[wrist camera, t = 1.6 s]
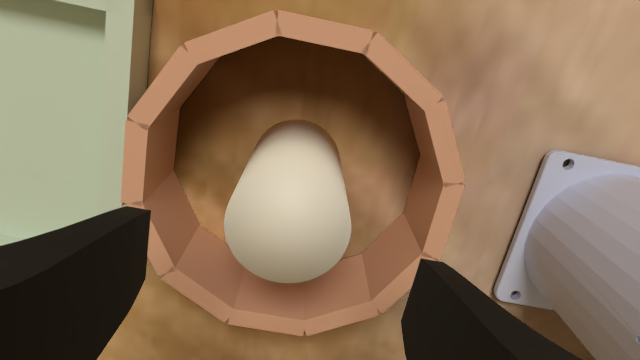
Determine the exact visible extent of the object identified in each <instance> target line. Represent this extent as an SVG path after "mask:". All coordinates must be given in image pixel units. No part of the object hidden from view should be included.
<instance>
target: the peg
mask: <svg viewBox="0 0 640 360" xmlns="http://www.w3.org/2000/svg"><path fill="white" fill-rule="evenodd" d="M224 232H225V237H226V241H227V243H228V246H229V248H230V250H231V252H232V254H233V255H234V256H235V258H236V259H237V260H238V261H239V262H240V263H241V265H242V266H244V267H245V268H246V269H247V270H249V271H250V272H252V273H253V274H255V275H257V276H259V277H261V278H263V279H266V280H269V281H273V282H278V283H299V282H304V281H309V280H311V279H314V278H317V277H319V276H321V275H323V274H324V273H326V272H327V271H329V270H330V269H331V268H332V267H333V266H334V265H335V264H336V263H337V262H338V261H339V260H340V259H341V257H342V256H343V254H344V252H345V250H346V248H347V246H348V243H349V240H350V235H351V218H350V212H349V206H348V201H347V195H346V189H345V184H344V178H343V172H342V167H341V161H340V156H339V151H338V148H337V146H336V143H335V142H334V140H333V138H332V137H331V136H330V134H329V133H328V132H326V131H325V130H324V129H323V128H322V127H320V126H318V125H316V124H314V123H312V122H309V121H305V120H287V121H283V122H280V123H278V124H276V125H274V126H272V127H271V128H269V129H268V130H267V131H266V132H265V133H264V134H263V135H262V136H261V138H260V139H259V141H258V143H257V145H256V147H255V149H254V151H253V153H252V155H251V157H250V159H249V161H248V163H247V165H246V168H245V170H244V172H243V174H242V176H241V178H240V180H239V182H238V184H237V186H236V188H235V190H234V193H233V195H232V197H231V199H230V201H229V203H228V206H227V208H226V212H225V217H224Z"/></svg>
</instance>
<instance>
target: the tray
mask: <svg viewBox="0 0 640 360" xmlns="http://www.w3.org/2000/svg"><path fill="white" fill-rule="evenodd" d="M152 9H153V0H0V246H2V245H5V244H9V243H13V242H17V241H21V240H24V239H28V238H31V237H34V236H37V235H40V234H44V233H47V232H50V231H53V230H56V229H60V228H63V227H66V226H69V225H71V224H74V223H77V222H80V221H83V220H86V219H88V218H91V217H94V216H97V215H100V214H102V213H105V212H108V211H111V210H114V209H117V208H121V207H122V206H123V205H124V204H125V203H121V189H122V172H123V156H124V139H125V123H126V120H127V119H129V117H128V114H129V113H130V112H131V110H132V109H133V108H134V106H135V105H136V104H137V102H138V101H139V100H140V98H141V97H142V96H143V94H144V93H145V92H146V90H147V77H148V63H149V50H150V36H151V23H152Z"/></svg>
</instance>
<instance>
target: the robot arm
mask: <svg viewBox="0 0 640 360" xmlns="http://www.w3.org/2000/svg"><path fill="white" fill-rule="evenodd" d="M567 159H570V162H569V164H568V166H566V167H563V162H564V161H565V160H567ZM150 217H151V210H146V209H141V208H135V207H129V206H126V207H121V208H117V209H114V210H111V211H108V212H105V213H102V214H100V215H97V216H94V217H91V218H88V219H86V220H83V221H80V222H77V223H74V224H71V225H69V226H66V227H63V228H60V229H56V230H53V231H50V232H47V233H44V234H40V235H37V236H34V237H31V238H28V239H24V240H21V241H17V242H13V243H9V244H5V245H2V246H0V360H97V358H98V357H99V355H100V354H101V352H102V351H103V349H104V348H105V346H106V345H107V343H108V342H109V341H110V339H111V338H112V336H113V335H114V333H115V332H116V330H117V329H118V327H119V326H120V324H121V323H122V321H123V320H124V318H125V317H126V315H127V314H128V312H129V311H130V309H131V307H132V305H133V303H134V301H135V299H136V297H137V295H138V293H139V291H140V289H141V287H142V284H143V282H144V280H145V276H146V264H147V252H148V240H149V229H150ZM513 291H517V293H516V294H514V295H510V294H511V293H512V292H513ZM494 294H495V296H496V298H497V299H498V300H500V301H503V302H509V303H514V304H520V305H526V306H532V307H538V308H543V309H549V310H555V311H556V312H557V314H558V315H559V316H560V317H561V319H562V320H563V321H564V322H565V323H566V325H567V326H568V327H569V328H570V329H571V331H572V332H573V333H574V334H575V335H576V337H577V338H578V339H579V340H580V342H581V343H582V344H583V345H584V346H585V348H586V349H587V350H588V351H589V352H590V354H591V355H592V356H593V357H594V358H595V360H640V166H636V165H631V164H627V163H622V162H617V161H612V160H607V159H602V158H597V157H592V156H587V155H582V154H577V153H572V152H567V151H562V150H552V151H549V152H548V153H547V154H546V155H545V157H544V159H543V161H542V164H541V167H540V169H539V172H538V175H537V177H536V180H535V182H534V185H533V188H532V190H531V193H530V195H529V198H528V201H527V203H526V206H525V208H524V211H523V214H522V216H521V219H520V221H519V224H518V227H517V229H516V232H515V235H514V237H513V240H512V242H511V245H510V248H509V250H508V253H507V255H506V258H505V261H504V263H503V266H502V268H501V271H500V274H499V276H498V279H497V281H496V284H495V287H494ZM401 325H402V334H403V342H404V349H405V355H406V359H407V360H582V359H580V358H578V357H576V356H575V355H573V354H571V353H569V352H568V351H566V350H564V349H563V348H561V347H559V346H558V345H556V344H555V343H553V342H551V341H550V340H548V339H547V338H545V337H543V336H542V335H540V334H539V333H537V332H536V331H534V330H533V329H531V328H530V327H528V326H527V325H526V324H524V323H523V322H521V321H520V320H519V319H517V318H516V317H514V316H513V315H512V314H510V313H509V312H508V311H506V310H505V309H504V308H502V307H501V306H500V305H498V304H497V303H496V302H495V301H493V300H492V299H491V298H489V297H488V296H487V295H486V294H484V293H483V292H482V291H481V290H479V289H478V288H477V287H476V286H474V285H473V284H472V283H471V282H469V281H468V280H467V279H466V278H464V277H463V276H462V275H461V274H459V273H458V272H457V271H455V270H454V269H453V268H451V267H450V266H448V265H447V264H445V263H443V262H439V261H433V260H428V259H422V258H421V259H420V262H419V265H418V269H417V272H416V275H415V278H414V281H413V285H412V288H411V291H410V294H409V297H408V301H407V304H406V307H405V310H404V313H403V317H402V320H401Z"/></svg>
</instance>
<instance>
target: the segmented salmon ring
mask: <svg viewBox="0 0 640 360" xmlns="http://www.w3.org/2000/svg"><path fill="white" fill-rule="evenodd" d="M276 36H282V37H287V38H292V39H296V40H301V41H306V42H311V43H315V44H320V45H325V46H329V47H334V48H339V49H344V50H348V51H353V52H358V53H361V54H362V55H363V56H364V57H365V58H366V59H367V60H368V61H370V62H371V63H372V64H373V65H374V66H375V67H376V68H377V69H378V70H379V71H380V72H381V73H382V74H383V75H384V76H385V77H386V78H388V79H389V80H390V81H391V82H392V83H393V84H394V85H395V86H396V87H397V88H398V89H399V90H400V91H401V92H402V93H403V94H404V97H405V100H406V104H407V108H408V111H409V115H410V119H411V123H412V126H413V130H414V134H415V137H416V141H417V145H418V148H419V152H420V158H419V161H418V165H417V168H416V171H415V175H414V178H413V182H412V185H411V189H410V192H409V196H408V199H407V203H406V206H405V210H404V213H403V214H402V215H401V216H400V217H399V218H398V219H397V220H396V221H395V222H394V223H393V224H392V225H391V226H390V227H389V228H388V229H386V230H385V231H384V232H383V233H382V234H381V235H380V236H379V237H378V238H377V239H376V240H375V241H374V242H373V243H372V244H371V245H370V246H369V247H368V248H367V249H366V250H365V251H364V252H363V253H362V254H359V255H356V256H352V257H349V258H346V259H342V260H339V261H338V262H337V263H336V264H335V265H334V266H333V267H332V268H331V269H330V270H329V271H327V272H326V273H324V274H323V275H321V276H319V277H317V278H314V279H311V280H309V281H304V282H299V283H278V282H273V281H269V280H266V279H263V278H261V277H259V276H257V275H255V274H253V273H252V272H250V271H249V270H247V269H246V268H245V267H244V266H242V265H241V263H240V262H239V261H238V260H237V259H236V258H235V256H234V255H233V254H232V252H231V250H230V248H229V247H228V246H227V245H226V244H224V243H223V242H222V241H220V240H219V239H218V238H216V237H215V236H214V235H212V234H211V233H210V232H208V231H207V230H205V229H204V228H203V227H201V226H200V225H199V223H198V221H197V219H196V217H195V214H194V212H193V210H192V208H191V206H190V204H189V202H188V199H187V197H186V195H185V193H184V191H183V189H182V187H181V185H180V182H179V180H178V178H177V176H176V174H175V172H174V163H175V153H176V143H177V133H178V123H179V113H180V107H181V106H182V105H183V103H184V102H185V101H186V100H187V98H188V97H189V96H190V94H191V93H192V92H193V91H194V89H195V88H196V87H197V86H198V84H199V83H200V82H201V80H202V79H203V78H204V77H205V75H206V74H207V73H208V71H209V70H210V69H211V68H212V66H213V65H214V64H215V63H216V61H217V60H218V59H219V57H220V56H223V55H226V54H228V53H231V52H234V51H237V50H240V49H242V48H245V47H248V46H251V45H254V44H256V43H259V42H262V41H265V40H268V39H271V38H273V37H276ZM184 43H185V45H180V46H179V48H178V49H177V50H176V52H175V53H174V54H173V56H172V57H171V58H170V60H169V61H168V62H167V64H166V65H165V66H164V68H163V69H162V70H161V72H160V73H159V74H158V76H157V77H156V78H155V80H154V81H153V82H152V84H151V85H150V86H149V88H148V89H147V90H146V92H145V93H144V94H143V96H142V97H141V98H140V100H139V101H138V102H137V104H136V105H135V106H134V108H133V109H132V110H131V112H130V113H129V114H128V117H129V119H127V120H126V123H125V139H124V156H123V172H122V189H121V203H125V204H124V205H123V206H122V207H126V206H129V207H135V208H141V209H146V210H151V217H150V229H149V240H148V252H147V256H148V258H149V260H150V262H151V264H152V265H153V267H154V269H155V271H156V273H157V275H158V276H160V275H163V274H164V275H163V276H162V278H161V280H163V281H164V282H166V283H167V284H169V285H170V286H171V287H173V288H174V289H176V290H177V291H179V292H180V293H182V294H183V295H185V296H186V297H187V298H189V299H190V300H192V301H193V302H195V303H196V304H198V305H199V306H200V307H202V308H203V309H205V310H206V311H208V312H209V313H211V314H212V315H214V316H215V317H216V318H218V319H219V320H221V321H222V322H224V323H225V322H226V320H227V319H228V318H229V321H228V324H229V325H235V326H241V327H248V328H254V329H260V330H266V331H272V332H279V333H285V334H291V335H297V336H303V334H304V330H305V333H306V335H307V336H309V335H313V334H316V333H320V332H323V331H327V330H331V329H334V328H338V327H341V326H345V325H348V324H352V323H355V322H359V321H362V320H366V319H369V318H373V317H376V316H379V312H378V310H379V311H380V312H381V313H382V314H383V313H384V312H385V311H386V310H387V309H388V308H390V307H391V306H392V305H393V304H394V303H395V302H396V301H397V300H398V299H399V298H401V297H402V296H403V295H404V294H405V293H406V292H407V291H408V290H409V289H410V288H411V287H412V285H413V281H414V278H415V275H416V272H417V269H418V265H419V262H420V259H421V258H422V259H428V260H433V261H437V259H441V257H442V254H443V251H444V248H445V245H446V242H447V239H448V236H449V233H450V230H451V227H452V224H453V221H454V218H455V215H456V212H457V209H458V206H459V202H460V199H461V196H462V193H463V190H464V187H465V185H464V184H463V183H462V182H465V178H464V174H463V170H462V166H461V162H460V157H459V153H458V149H457V145H456V141H455V137H454V132H453V128H452V124H451V120H450V116H449V112H448V108H447V103H446V100H444V99H443V98H442V97H443V95H442V94H441V93H440V92H439V91H438V90H437V89H435V88H434V87H433V86H432V85H431V84H430V83H429V82H428V81H427V80H426V79H425V78H424V77H423V76H422V75H421V74H420V73H419V72H418V71H417V70H416V69H415V68H414V67H413V66H412V65H411V64H410V63H409V62H408V61H407V60H406V59H404V58H403V57H402V56H401V55H400V54H399V53H398V52H397V51H396V50H395V49H394V48H393V47H392V46H391V45H390V44H389V43H388V42H387V41H386V40H385V39H384V38H383V37H382V36H381V35H380V34H379V33H377V32H373V30H370V29H365V28H360V27H356V26H351V25H347V24H342V23H337V22H333V21H328V20H323V19H319V18H314V17H309V16H305V15H300V14H296V13H291V12H286V11H282V10H279V11H275V10H273V11H270V12H267V13H264V14H262V15H259V16H256V17H253V18H251V19H248V20H245V21H242V22H240V23H237V24H234V25H231V26H229V27H226V28H223V29H220V30H217V31H215V32H212V33H209V34H206V35H204V36H201V37H198V38H195V39H193V40H190V41H187V42H184Z"/></svg>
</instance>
